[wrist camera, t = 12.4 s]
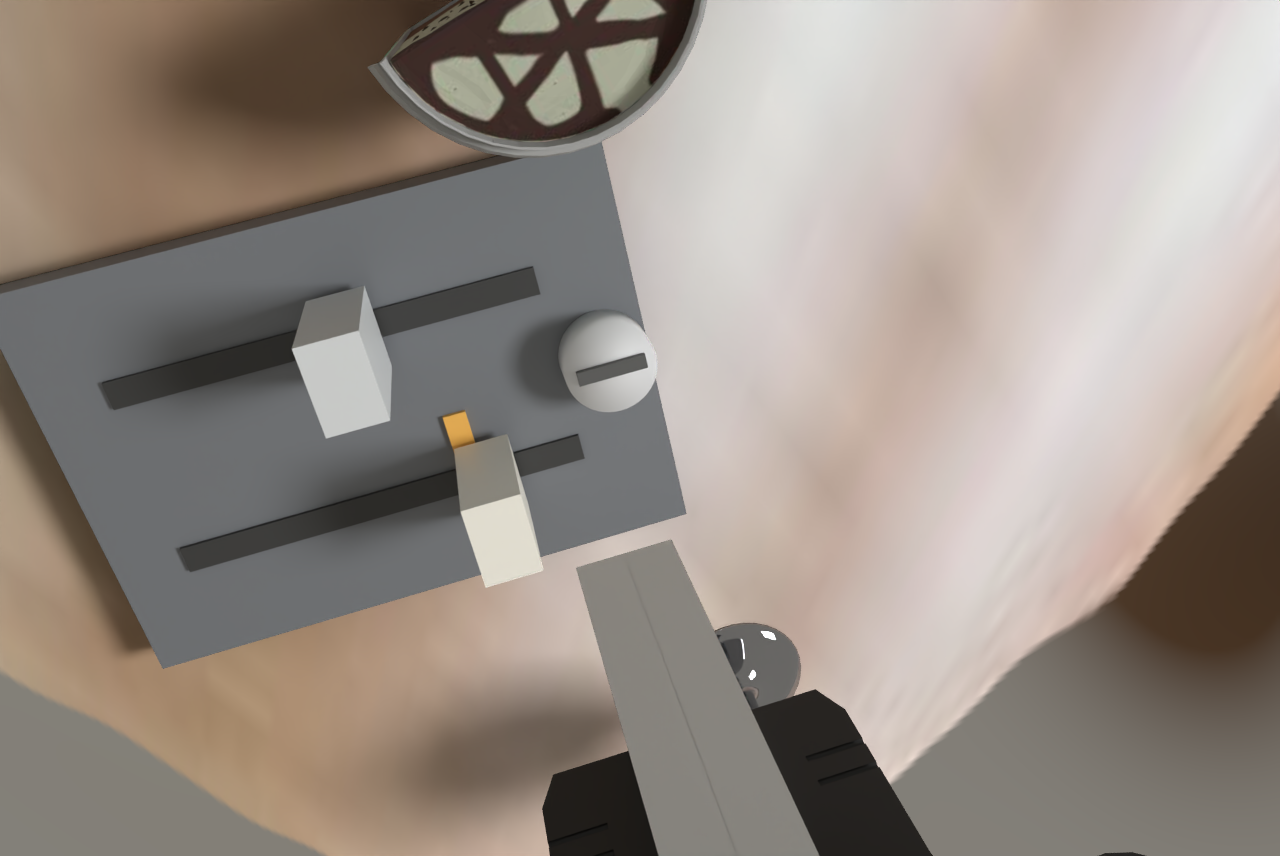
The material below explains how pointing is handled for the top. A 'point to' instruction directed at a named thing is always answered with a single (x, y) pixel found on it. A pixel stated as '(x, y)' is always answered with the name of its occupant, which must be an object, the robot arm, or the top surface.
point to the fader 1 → (344, 362)
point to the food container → (538, 70)
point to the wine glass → (761, 662)
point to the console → (287, 421)
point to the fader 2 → (496, 511)
